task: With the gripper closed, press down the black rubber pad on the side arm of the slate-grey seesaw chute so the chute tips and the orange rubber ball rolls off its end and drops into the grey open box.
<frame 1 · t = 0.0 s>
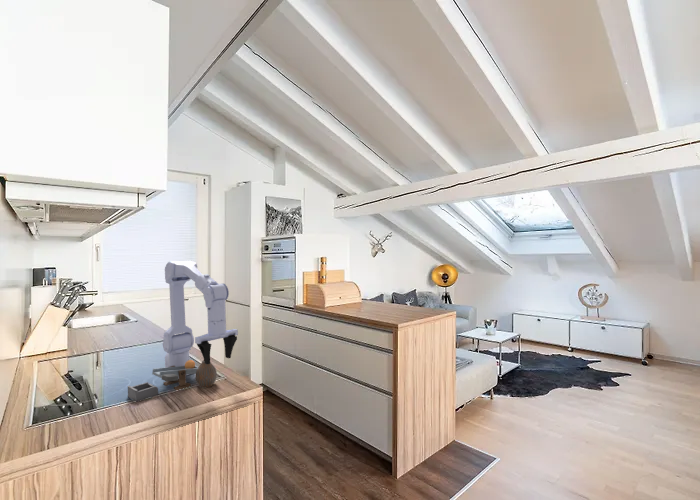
hand: (218, 360, 120), 10 cm above the table, tool pointing down, fingers open, 7 cm apart
ball: (190, 364, 130), point 6 cm above the table, tilted 7°, touching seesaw
vase: (206, 386, 125), on the table
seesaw: (180, 372, 123), point 5 cm above the table, hinge at -10.0°, touching ball
grey open box: (143, 395, 117), on the table
stand: (177, 385, 126), on the table
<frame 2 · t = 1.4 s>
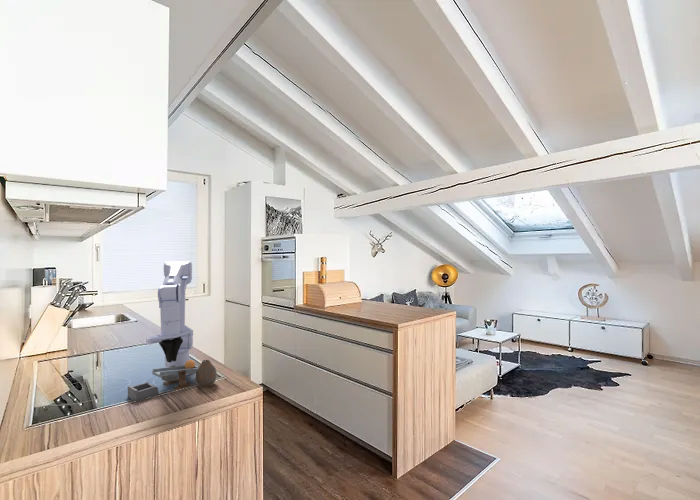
hand: (171, 361, 120), 10 cm above the table, tool pointing down, fingers closed
nothing on the table moved.
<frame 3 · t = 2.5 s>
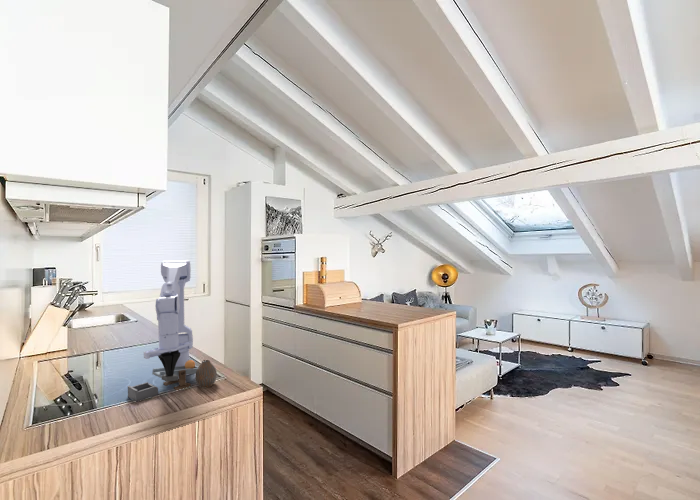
hand: (169, 375, 115), 7 cm above the table, tool pointing down, fingers closed, pressing on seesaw
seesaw: (180, 372, 123), point 5 cm above the table, hinge at -10.0°, touching ball, gripper
everything else where it was.
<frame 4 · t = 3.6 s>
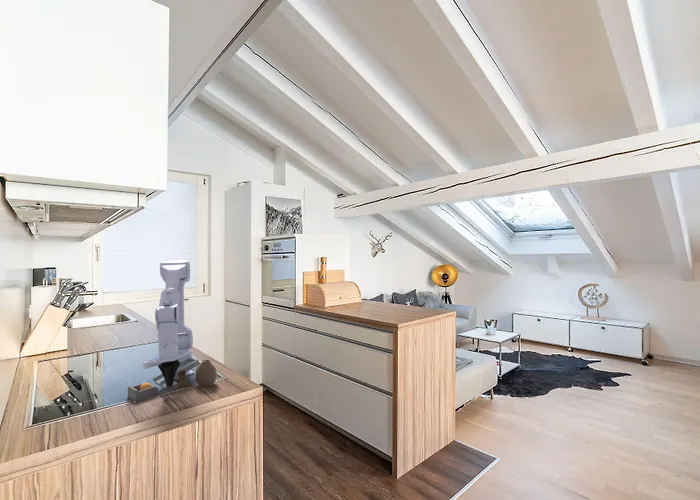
hand: (169, 384, 115), 4 cm above the table, tool pointing down, fingers closed
ball: (145, 388, 118), point 2 cm above the table, tilted 135°, touching grey open box
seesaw: (180, 373, 123), point 5 cm above the table, hinge at 16.7°, touching gripper
everything else where it was.
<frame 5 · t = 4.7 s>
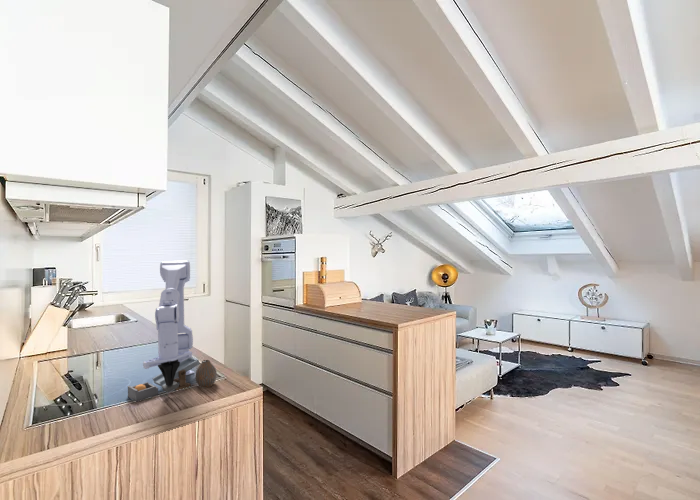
hand: (169, 384, 115), 4 cm above the table, tool pointing down, fingers closed
ball: (140, 389, 117), point 2 cm above the table, tilted 168°, touching grey open box
everything else where it was.
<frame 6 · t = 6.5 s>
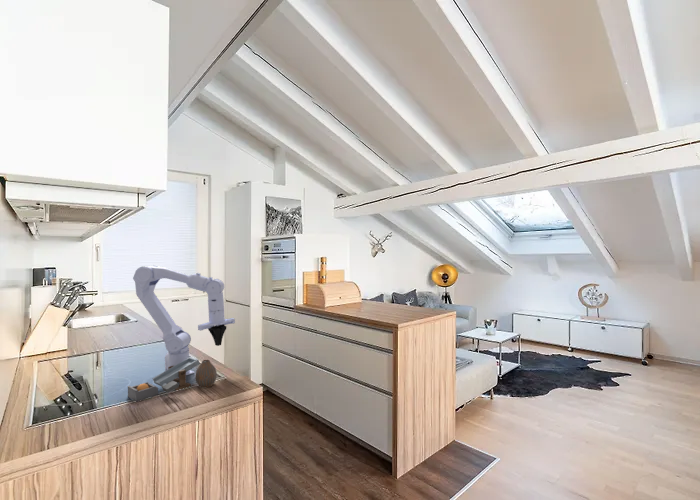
hand: (218, 345, 139), 10 cm above the table, tool pointing down, fingers closed
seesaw: (180, 373, 123), point 5 cm above the table, hinge at 16.7°
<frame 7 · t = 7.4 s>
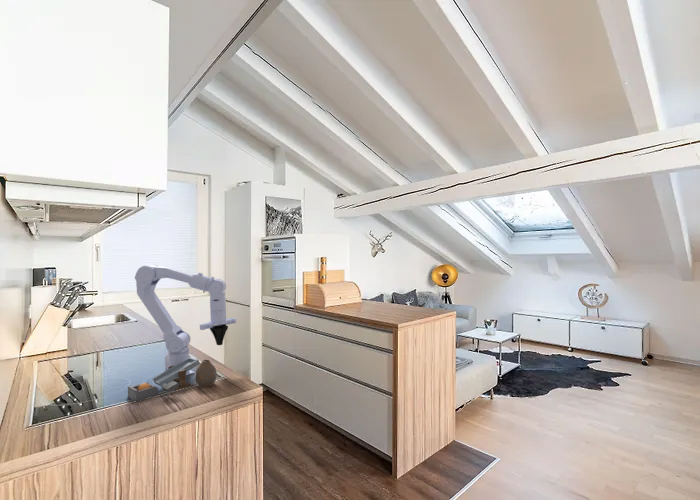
hand: (219, 344, 140), 10 cm above the table, tool pointing down, fingers closed
ball: (144, 388, 118), point 2 cm above the table, tilted 151°, touching grey open box
everything else where it was.
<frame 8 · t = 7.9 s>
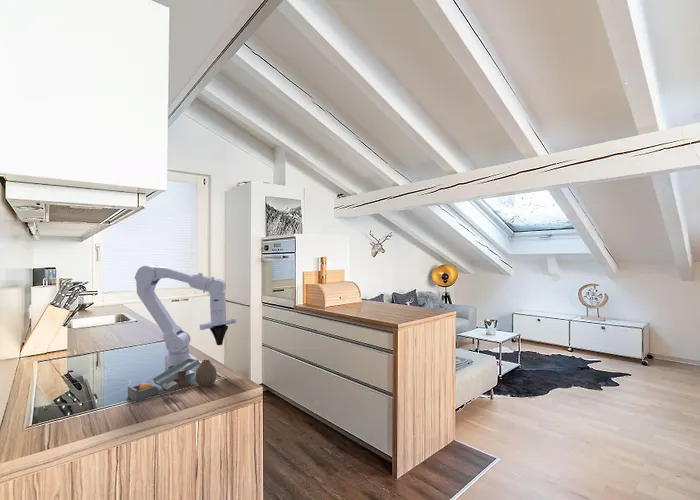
hand: (219, 344, 140), 10 cm above the table, tool pointing down, fingers closed
ball: (144, 388, 118), point 2 cm above the table, tilted 144°, touching grey open box
everything else where it was.
at the end: ball 0.7 cm off-centre on the grey open box, point 2.2 cm above the grey open box's base; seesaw at +17° (first picture: -10°) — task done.
